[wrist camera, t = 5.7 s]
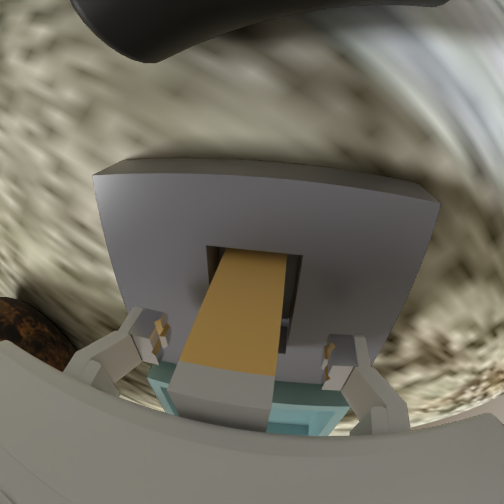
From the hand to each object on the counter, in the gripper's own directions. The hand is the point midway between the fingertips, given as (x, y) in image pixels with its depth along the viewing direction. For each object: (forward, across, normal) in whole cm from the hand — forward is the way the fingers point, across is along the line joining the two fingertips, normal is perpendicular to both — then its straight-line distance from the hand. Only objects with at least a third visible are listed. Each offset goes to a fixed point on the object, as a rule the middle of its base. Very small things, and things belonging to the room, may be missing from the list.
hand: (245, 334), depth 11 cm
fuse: (+4, 0, 0) cm, 4 cm away
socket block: (+4, 0, 0) cm, 4 cm away
